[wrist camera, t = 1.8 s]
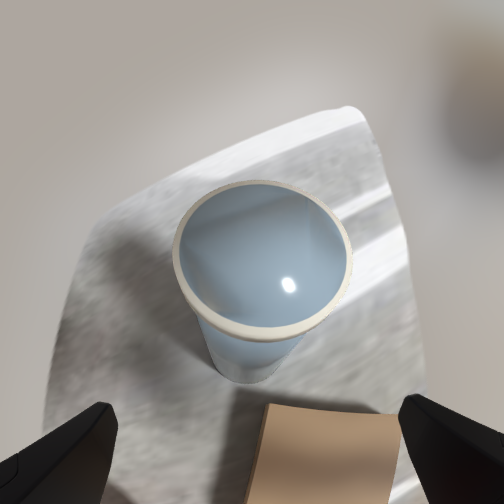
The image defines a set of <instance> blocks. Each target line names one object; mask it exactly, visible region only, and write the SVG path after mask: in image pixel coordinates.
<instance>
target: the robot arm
mask: <svg viewBox="0 0 504 504" xmlns="http://www.w3.org/2000/svg"><path fill="white" fill-rule="evenodd" d="M398 421H399V424H400V427H401V431H402V434H403V437H404V440H405V443H406V447H407V450H408V453H409V456H410V458H411V461H412V463H413V466H414V468H415V470H416V473H417V475H418V477H419V480H420V482H421V485H422V487H423V490H424V492H425V495H426V497H427V500H428V502H429V504H504V434H503V433H501V432H497V431H496V430H494V429H491V428H489V427H487V426H485V425H482V424H480V423H478V422H476V421H474V420H471V419H469V418H467V417H465V416H463V415H461V414H459V413H456V412H454V411H452V410H450V409H448V408H446V407H444V406H442V405H440V404H438V403H436V402H434V401H432V400H430V399H428V398H426V397H424V396H422V395H420V394H412V395H408V396H406V397H405V399H404V401H403V403H402V406H401V408H400V411H399V413H398ZM117 431H118V421H117V418H116V416H115V413H114V410H113V407H112V405H111V404H109V403H105V402H97V403H95V404H93V405H92V406H90V407H89V408H87V409H86V410H84V411H83V412H81V413H80V414H78V415H77V416H75V417H74V418H72V419H71V420H69V421H67V422H66V423H64V424H63V425H61V426H60V427H58V428H57V429H55V430H53V431H52V432H50V433H49V434H47V435H45V436H44V437H42V438H41V439H39V440H37V441H36V442H34V443H33V444H31V445H29V446H28V447H26V448H25V449H23V450H21V451H20V452H19V453H16V454H14V455H13V456H11V457H9V458H8V459H6V460H4V461H2V462H1V463H0V504H100V502H101V499H102V495H103V492H104V488H105V485H106V482H107V478H108V475H109V472H110V468H111V463H112V458H113V452H114V447H115V441H116V436H117Z"/></svg>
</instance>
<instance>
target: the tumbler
mask: <svg viewBox="0 0 504 504" xmlns="http://www.w3.org/2000/svg"><path fill="white" fill-rule="evenodd" d="M172 258H173V266H174V270H175V273H176V277H177V280H178V283H179V285H180V288H181V291H182V293H183V295H184V297H185V299H186V301H187V302H188V304H189V305H190V307H191V308H192V310H193V311H194V312H195V313H196V316H197V319H198V322H199V324H200V327H201V330H202V333H203V336H204V339H205V342H206V344H207V347H208V350H209V353H210V355H211V358H212V361H213V363H214V365H215V367H216V368H217V370H218V371H219V372H220V373H221V374H222V375H223V376H224V377H226V378H227V379H229V380H231V381H233V382H236V383H241V384H253V383H258V382H260V381H263V380H265V379H267V378H268V377H269V376H271V375H272V374H273V373H274V372H275V370H276V369H277V368H278V367H279V366H280V365H281V363H282V362H283V361H284V360H285V359H286V358H287V356H288V355H289V354H290V353H291V352H292V350H293V349H294V348H295V347H296V345H297V344H298V343H299V342H300V341H301V339H302V338H303V337H304V336H305V334H306V333H307V332H308V331H310V330H312V329H313V328H315V327H316V326H317V325H319V324H320V323H321V322H322V321H323V320H324V319H325V318H326V317H327V316H328V315H329V314H330V313H331V312H332V310H333V309H334V308H335V307H336V305H337V304H338V303H339V302H340V300H341V299H342V297H343V295H344V294H345V292H346V290H347V287H348V285H349V282H350V279H351V275H352V267H353V256H352V249H351V244H350V241H349V238H348V235H347V233H346V231H345V229H344V227H343V225H342V224H341V222H340V221H339V219H338V218H337V217H336V215H335V214H334V213H333V212H332V211H331V210H330V209H329V208H328V207H327V206H326V205H325V204H324V203H322V202H321V201H320V200H318V199H317V198H316V197H314V196H312V195H311V194H309V193H307V192H305V191H303V190H301V189H299V188H296V187H294V186H291V185H288V184H284V183H280V182H274V181H265V180H250V181H242V182H236V183H232V184H228V185H225V186H223V187H220V188H218V189H216V190H214V191H212V192H210V193H208V194H207V195H205V196H203V197H202V198H201V199H199V200H198V201H197V202H196V203H195V204H194V205H193V206H192V207H191V208H190V209H189V210H188V211H187V213H186V214H185V215H184V217H183V218H182V220H181V222H180V224H179V226H178V228H177V231H176V234H175V236H174V242H173V251H172Z"/></svg>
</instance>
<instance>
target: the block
mask: <svg viewBox="0 0 504 504" xmlns="http://www.w3.org/2000/svg"><path fill="white" fill-rule="evenodd" d="M401 434H402V431H401V427H400V424H399V421H398V414H364V413H347V412H335V411H324V410H315V409H306V408H298V407H291V406H284V405H278V404H272V403H269V404H267V405H265V410H264V415H263V419H262V424H261V429H260V433H259V438H258V443H257V447H256V451H255V456H254V460H253V464H252V469H251V473H250V477H249V481H248V485H247V489H246V494H245V498H244V501H243V504H388V500H389V496H390V492H391V488H392V484H393V479H394V474H395V469H396V464H397V459H398V453H399V447H400V440H401Z"/></svg>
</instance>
